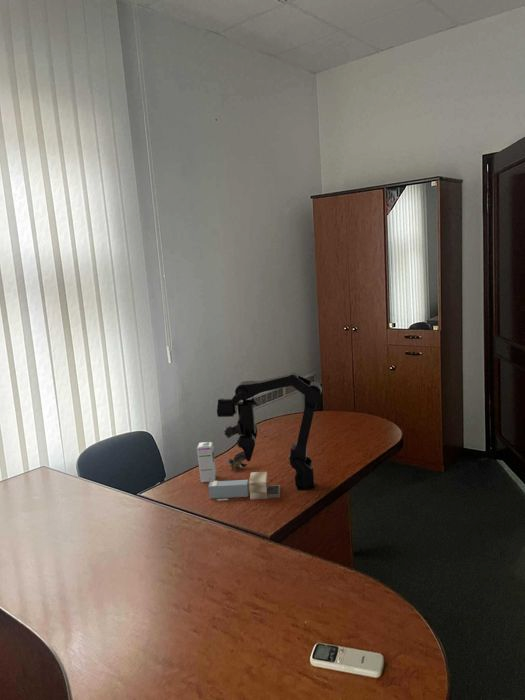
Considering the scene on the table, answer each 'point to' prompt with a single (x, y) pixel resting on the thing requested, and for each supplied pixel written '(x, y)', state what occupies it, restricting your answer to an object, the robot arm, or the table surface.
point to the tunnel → (258, 485)
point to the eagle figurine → (237, 460)
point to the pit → (273, 491)
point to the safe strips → (221, 499)
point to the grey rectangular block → (228, 489)
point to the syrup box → (206, 462)
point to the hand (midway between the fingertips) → (249, 456)
